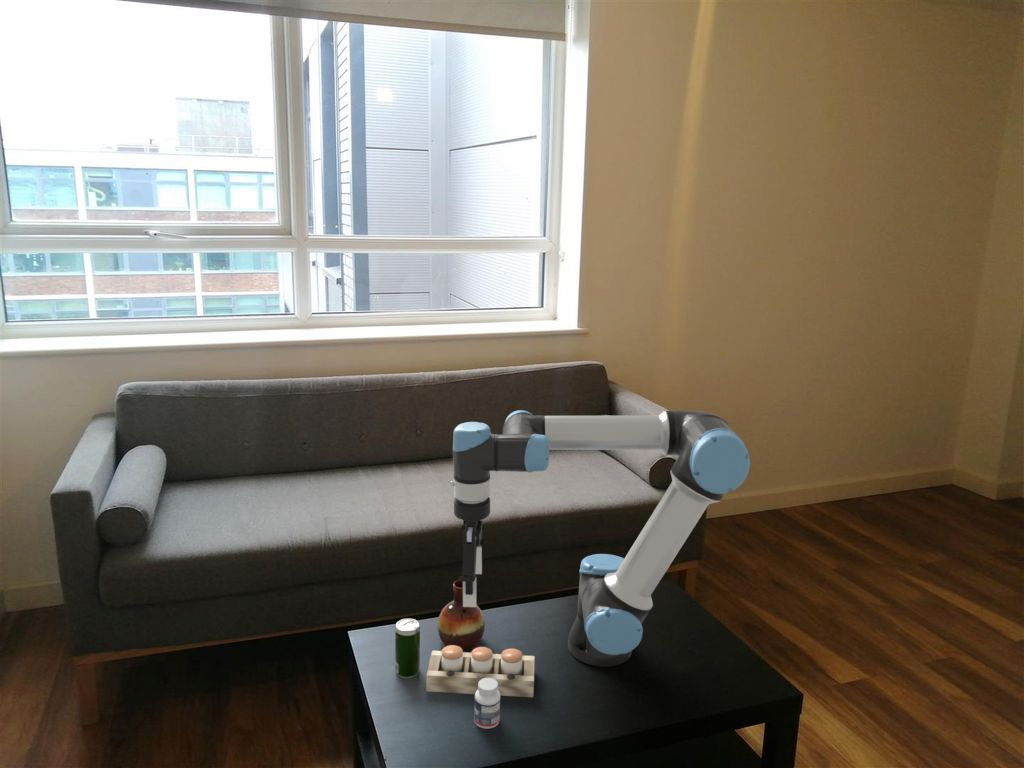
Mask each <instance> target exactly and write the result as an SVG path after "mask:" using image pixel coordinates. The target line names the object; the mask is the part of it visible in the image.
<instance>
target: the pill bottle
mask: <svg viewBox="0 0 1024 768" xmlns="http://www.w3.org/2000/svg"><path fill="white" fill-rule="evenodd" d="M473 712H474V713H473V714H474V715H473V722H474V724H475V725H476V726H477V727H479V728H481V729H484V730H487V729H488V730H489V729H494V728H495V727H497V726H498V725H499V723H500V720H501V716H500V715H501V696H500V692H499V691H498V683H497V681H496V680H495V679H492V678H483V679H481V680H480V681H479V683H478V690H477V691H476V693H475V694H474V711H473Z"/></svg>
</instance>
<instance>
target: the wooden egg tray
mask: <svg viewBox="0 0 1024 768" xmlns="http://www.w3.org/2000/svg"><path fill="white" fill-rule="evenodd" d="M471 654H472V652H466V651H463V669H462V672H453V671H442V670H441V667H442V650H431V654H430V657H429V662H428V663H429V664H428V665H427V666H428V667H427V672H426V679H425V680H426V684H425V685H426V686H425V687H426V689H425V691H426V692H430V693H432V692H433V693H449V694H469V695H475V693H476V691H477V690H478V683H479V681H480V680H481V679H483V678H492V679H495V680H496V681H497V683H498V691H499V692H500V697H501V696H503V697H504V696H505V697H520V698H521V697H522V698H534V689H535V688H534V687H535V655H523V654H522V655H523V656H522V674H521V676H520V675H513V674H509V675H502V674H501V653H493V658H492V673H491V674H484V673H471Z"/></svg>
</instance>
